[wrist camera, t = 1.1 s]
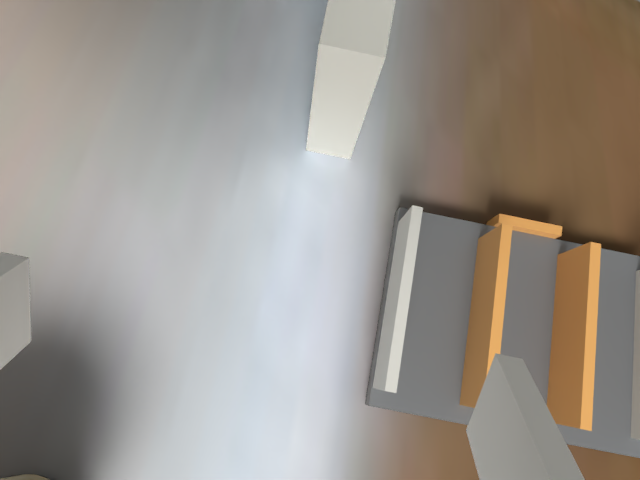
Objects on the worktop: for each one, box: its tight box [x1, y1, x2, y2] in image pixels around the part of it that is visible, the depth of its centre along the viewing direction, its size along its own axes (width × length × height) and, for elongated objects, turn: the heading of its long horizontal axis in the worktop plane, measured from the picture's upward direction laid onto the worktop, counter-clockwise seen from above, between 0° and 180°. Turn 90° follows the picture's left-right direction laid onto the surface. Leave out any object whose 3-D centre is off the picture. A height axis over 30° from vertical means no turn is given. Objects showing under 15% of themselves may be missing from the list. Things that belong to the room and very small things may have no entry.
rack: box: [365, 205, 640, 458], centre depth 29 cm, size 13×16×5 cm
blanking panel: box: [306, 0, 396, 159], centre depth 29 cm, size 6×3×12 cm, turn 169°
